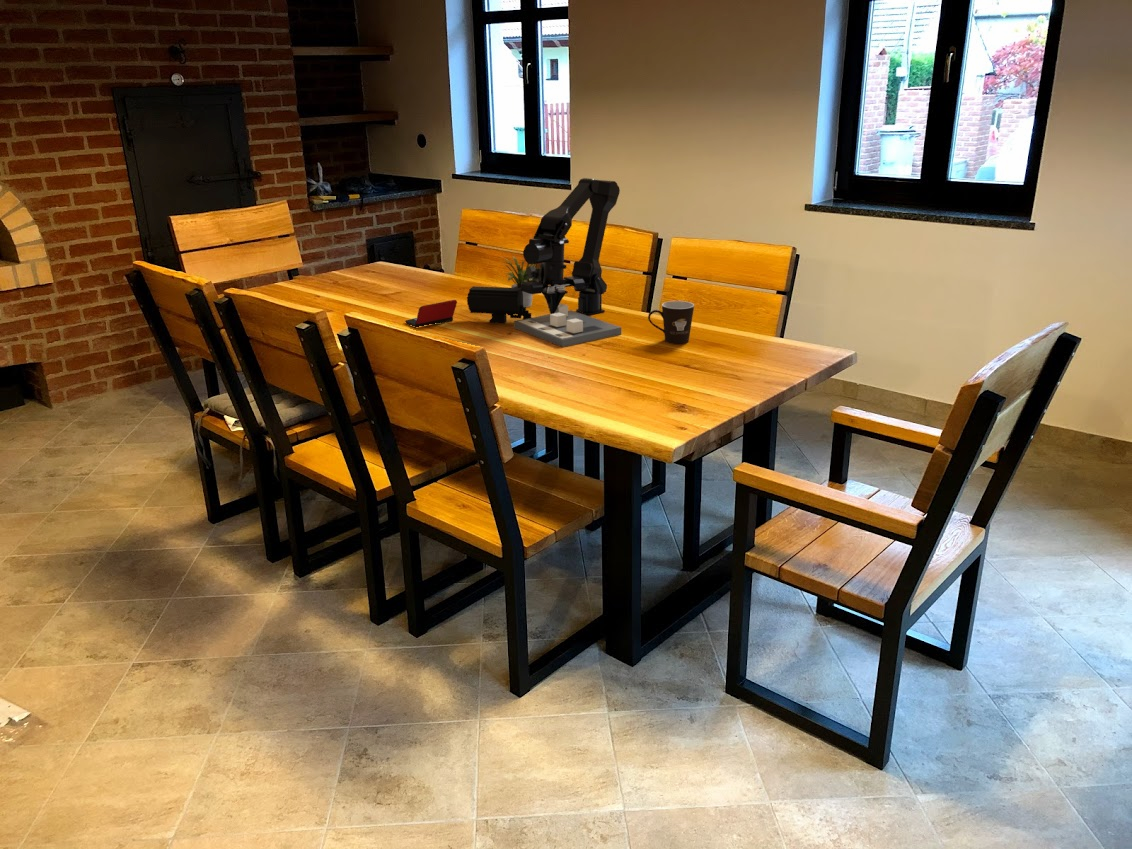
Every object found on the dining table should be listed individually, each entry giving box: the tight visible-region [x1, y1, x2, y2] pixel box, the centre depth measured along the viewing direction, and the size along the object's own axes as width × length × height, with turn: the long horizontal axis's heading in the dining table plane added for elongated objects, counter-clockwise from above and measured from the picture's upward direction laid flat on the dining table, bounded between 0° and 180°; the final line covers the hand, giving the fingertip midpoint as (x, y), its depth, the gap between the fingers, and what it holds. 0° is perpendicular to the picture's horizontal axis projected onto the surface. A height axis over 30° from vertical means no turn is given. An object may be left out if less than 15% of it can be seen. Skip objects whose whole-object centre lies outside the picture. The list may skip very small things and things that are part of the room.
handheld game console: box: [404, 299, 458, 327], centre depth 265 cm, size 12×11×7 cm
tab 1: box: [555, 302, 569, 316], centre depth 263 cm, size 3×3×3 cm
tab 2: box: [549, 312, 566, 327], centre depth 253 cm, size 3×3×3 cm
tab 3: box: [567, 318, 583, 333], centre depth 247 cm, size 3×3×3 cm
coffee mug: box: [647, 300, 695, 345], centre depth 244 cm, size 12×9×10 cm
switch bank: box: [513, 309, 622, 348], centre depth 256 cm, size 20×24×2 cm
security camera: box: [466, 285, 533, 325], centre depth 264 cm, size 7×18×10 cm, turn 79°
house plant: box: [501, 255, 537, 308], centre depth 281 cm, size 14×14×16 cm
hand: (552, 314), depth 261 cm, fingers closed
